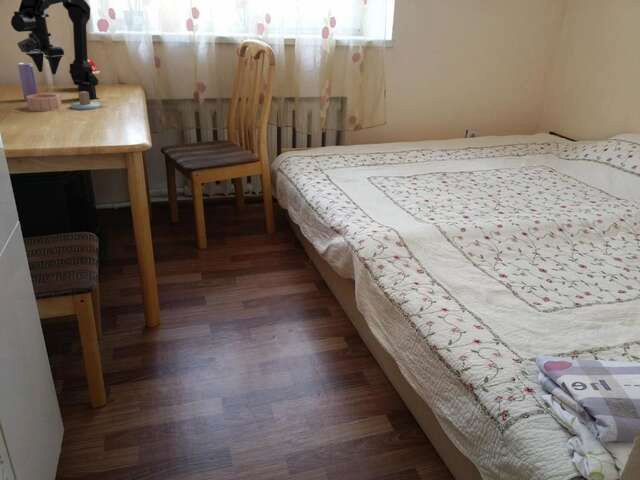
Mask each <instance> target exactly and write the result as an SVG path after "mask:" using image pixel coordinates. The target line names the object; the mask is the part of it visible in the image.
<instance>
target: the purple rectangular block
mask: <svg viewBox="0 0 640 480" xmlns="http://www.w3.org/2000/svg"><path fill="white" fill-rule="evenodd" d="M34 65H35V64H34V62H18V63H17V68H18V74H19V79H20V85H21V91H22V94H23V99H24V101H26V102H27V98H26V96H28V95H33V94H40V93H39V92H40V91H39V87H38V82H37V76H36V70H35V66H34Z"/></svg>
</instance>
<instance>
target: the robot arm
mask: <svg viewBox="0 0 640 480" xmlns="http://www.w3.org/2000/svg"><path fill="white" fill-rule="evenodd" d="M59 3H62V7H64V9H65V10H67V13H68V18H69V19H70V21H71V23H72V28H73V32H72V33H73V49H74V50H73V52H74V60H73V61H74V62H73V61H72V62H73V64H71V63H69V70H70V74H69V75H70V78H71V80H72V81H73V84H74V86H77V85H78V87H77V94H78V92H83V91H86V92H89V97H90V101H93V100H99V99H100V98H99V97H97V91H96V86H98V85H99V79H98V78H97V77H96V75H95V74H93V73H92V67H91V66H90V64H89V62H88V59H89V58H88V43H87V42H88V39H87V37H88V36H87V25H88V22H89V21H90V19H91V18H90V17H91V7H90V5H89V3H87V1H85V0H21V1H20V5H19V8H18V11H13V16H12V17H11V21H10V24H11V26H12V28H13V30H14V31H16V32H18V33H23V32H29V33H28V38H25V39H23V40H20V41H19V42H17V46H18V48H19V50H20V52H21V53H25V55H27V56H29V57H30V58H31V59H32V62H33V64H34V65H35V67H36V69H37V71H38V73H42V72H43V67H44V58H45V59H46V60H47V61H48V65H49V68H50V71H51V74H52V75H56V74H57V71H58V68H59V65H60V61H61V60H62V58H63V57H64V55H65V51H64V48H63V47H61V46H53V45H54V44H51V41H50V37H52V34H51V33H50V32H49V30H48V26H47V25H48V24H47V20H46V18H49V17H50V15H49V14H48V13H47V12H46V10H47V9H49V8H50V6H52V5H55V4H59ZM87 58H88V59H87ZM88 82H89V83H88ZM78 96H79V94H78ZM77 100H79V97H77Z"/></svg>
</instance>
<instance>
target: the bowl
mask: <svg viewBox="0 0 640 480" xmlns="http://www.w3.org/2000/svg"><path fill="white" fill-rule="evenodd" d="M26 98H27V101H26V102H27V108H28V110H29V111H35V112H47V111H55V110H57V111H58V110H60V109H62V108H63V103H62V99H61V95H60V94H59V93H58V94H57V93H39V94H33V95H28V96H26Z"/></svg>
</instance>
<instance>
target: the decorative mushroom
mask: <svg viewBox="0 0 640 480" xmlns="http://www.w3.org/2000/svg"><path fill="white" fill-rule="evenodd" d="M87 59H88V62H89V64H90V66H91V67H92V73H93V74H94V75H99V74H101V72H100V70H99V69H98V68H97V67H98V66H96V63H95V62H94V61H93V60H92V59H90V58H88V57H87ZM73 62H74V60H73V61H71V63H70V64H73ZM68 74H69V75H71V74H70V69H69V70H68ZM88 83H89V82H88ZM76 86H77V88H78V85H76Z"/></svg>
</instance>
